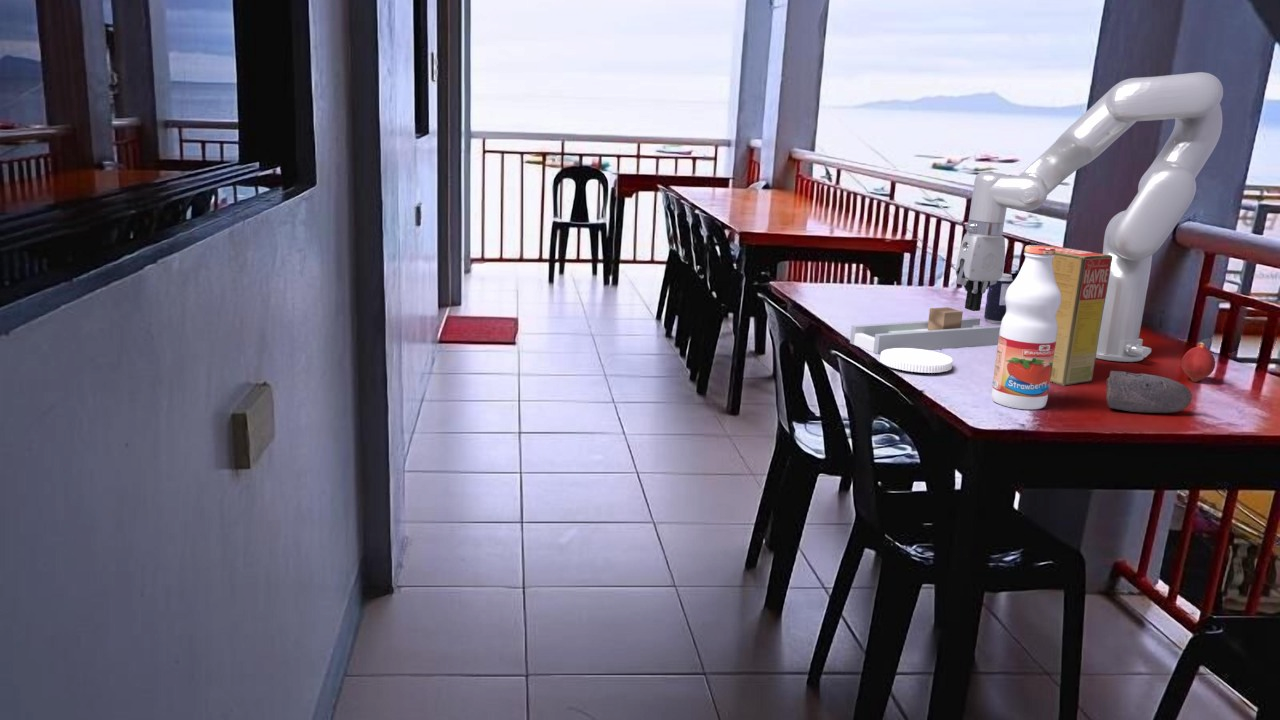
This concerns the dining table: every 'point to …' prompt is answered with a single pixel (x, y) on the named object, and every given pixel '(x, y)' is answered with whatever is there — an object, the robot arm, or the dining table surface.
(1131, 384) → the perforated stone tool
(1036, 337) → the fruit juice
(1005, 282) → the beverage can
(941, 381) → the dining table surface
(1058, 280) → the food packaging
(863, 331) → the trap track
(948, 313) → the walnut block
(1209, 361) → the onion
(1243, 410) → the dining table surface
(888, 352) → the plastic lid
